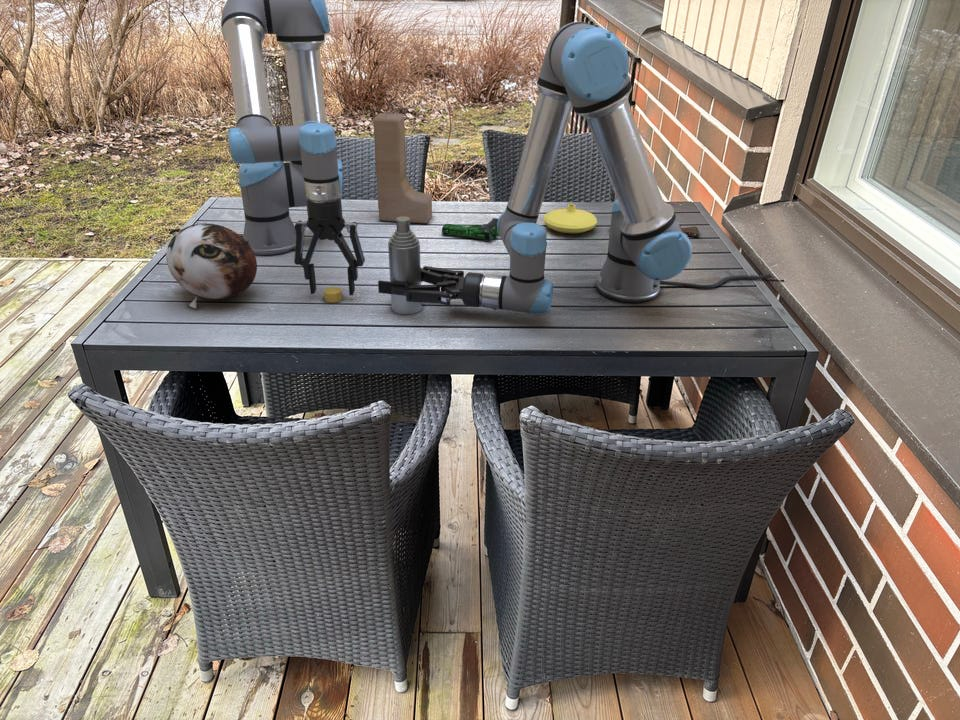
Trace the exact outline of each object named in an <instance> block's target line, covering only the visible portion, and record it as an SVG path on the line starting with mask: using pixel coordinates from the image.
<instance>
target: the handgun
mask: <svg viewBox="0 0 960 720" xmlns="http://www.w3.org/2000/svg"><path fill="white" fill-rule="evenodd" d="M498 219H499V218H497V217H492V219H491V220H490V221H489V222H488V223H483V224H482V225H479V224H472V225H459V224H453V223H445V224H443V226H442V227H441V235H446V236H454V237H462V238H469V239H470V238H471V239H474V240H479V241H484V242H491V241H492V240H494V239H495V238H497V237H500V236H499V234H498V229H497V222H498Z"/></svg>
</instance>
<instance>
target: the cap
mask: <svg viewBox="0 0 960 720" xmlns="http://www.w3.org/2000/svg"><path fill="white" fill-rule="evenodd" d="M323 299H324V301H325V302H326V303H329V304H330V303H332V304H335V303H339V302H341V301H342V300H343V291H342V289H341V287H338V286H330V287H327V288H325V289H323Z"/></svg>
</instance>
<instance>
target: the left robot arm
mask: <svg viewBox="0 0 960 720" xmlns="http://www.w3.org/2000/svg"><path fill="white" fill-rule="evenodd" d="M220 27H221V34H222V37H223V39H224V41H225V42H226V43H227V48H228V58H229V65H230V77H231V85H232V94H233V104H234V113H235V122H236V126H235V127H232V128H231V127H230V128H229V129H228V130H227V140H228V141H227V142H228V147H229V154H230V157H231V160H232V161H233V162H234V163H236V164H241V165H240V166H239V168H238V170H237V174H238V186H239V188H240V194H241V195H240V196H241V201H242V207H243V212H244V213H243V215H244V219H245V220H244V226H243V228H244V229H243V234H242V235H240V234H239V235H240V236H241V237H243V238H244V239H245V240H246V241H249V242H248V244H249V245H250V247H251V248H252V250H253V252H254V254H255V256H256V255H257V256H275V255H281V254H282V255H283V254H285V253H289V252H291V251H293V250H295V251H294V252H295V253H294V264H295V265H296V266H298V265H300V266H301V267H302V268H303V275H304V279H305V280H308V283H309V289H310V290H309V291H310V295H315V293H316V291H317V281H316V273H315V272H316V271H315V264H314V263H311V261H312V258H313V256H314V253H315V251H316V248H317V245H318V243H319V241H320V240H321V241H324V240H328V241H333V242H334V243H335V244H336V245H337V246H338V249H339V250H340V252H341V253H342V256H343V257H344V259H345V260H346V262H347V264H348V267H347V281H348V283H347V284H348V292H349V293H348V294H349V296H354V294H355V291H356V287H355V282H357V280H358V278H359V270H358V268H359V267H363V266H364V264H365V261H366V259H365V255H364V251H363V248H362V245H361V240H360V238H359V234H358V222H356V221H353V222H347V221H345V219H344V216H343V205H342V194H343V183H344V175H343V162H342V160H341V159H338V148H337V145H338V142H337V141H338V140H337V137H336V131H335V127H334V126H332V125H331V124H328V123H327V113H326V101H325V92H324V91H325V90H324V82H323V81H324V80H323V71H322V60H321V59H322V58H321V51H320V50H321V47H322V46H323V45H324V44H325V42H326V37H325V35H328V34H330V33H331V26H330V19H329V15H328V9H327V4H326V1H325V0H226V2H225V4H224V6H223V10H222V12H221V20H220ZM266 35H275V37H276V43H277V44H278V45H279V46H280V47H281V48H282V49H283V51H284V60H285V69H286V76H287V84H288V85H287V86H288V95H289V103H290V111H291V112H290V113H291V118H292V125H273V123H272V115H271V106H270V100H269V99H270V98H269V91H268V83H267V75H266V66H265V59H264V52H263V51H264V49H263V44H262V43H263V42H264V40H265V38H266ZM304 207H306V210H307V211H306V212H307V220H306V221H305V220H304V221H302V220H300V219H299V220H298V221H297V222H296V223H295V224H294V223H293V220H292V218H291V216H290V208H304ZM307 229H309V231H311V232H312V234H313V236H312V238H311V241H310V243H309V246H308V249H307V251H306V254H305V257H303V255H304V245H305V244H304V243H305V234H306V233H305V232H306V230H307ZM344 229H345V230H346V232H347V233H348V234H349V237H350V238H349V239H350V243H351V245H352V249H353V252H354V253H353V252H352V250H351V247H349V245H348V243H347V241H346V240H345V236H344V234H343V230H344ZM180 230H182V229H180V228H173V229H171V230H170V231H169V232H168V235H173V234H174V233H178V232H179V231H180Z"/></svg>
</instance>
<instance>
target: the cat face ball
mask: <svg viewBox="0 0 960 720" xmlns="http://www.w3.org/2000/svg"><path fill="white" fill-rule="evenodd" d="M248 242H249V241H246V240H245V239H244V238H243V237H241V236H240V234H239V233H238V232H236V231H234V230H233V229H231V228H229V227H226V226H223V225H220V224H215V223H205V222H204V223H195V224H191V225H188V226H186V227H183V228H182V229H181V230H180V231H179V232H176V233H175V234H174V235H173V237H171V239H170V241H169V243H168V245H167V248H166V254H165V260H166V265H167V268H168V271H169V273H170V275H171V276H172V277H173V279H174V280H175V281H176V282H177V284H178V285H180V286H181V287H182V288H183V289H185V290H186V291H187V292H189V293H191V294H194V295H195V298H194V299H193V300H192V302H190V303H189V304H188V306H189V307H191V308H192V309H197V308H198V307H197V298H198V297H201V298H205V299H210V300H226V299H230V298H233V297H236V296H238V295H241V294H242V293H244V292H245V291H247V290H248V289H249V288H250V286H251V285H252V284H253V282H254V280H255V278H256V275H257V271H258V262H257V257H256V254H254V252H253V250H252V248H251V247H250V245H249V244H248Z"/></svg>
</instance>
